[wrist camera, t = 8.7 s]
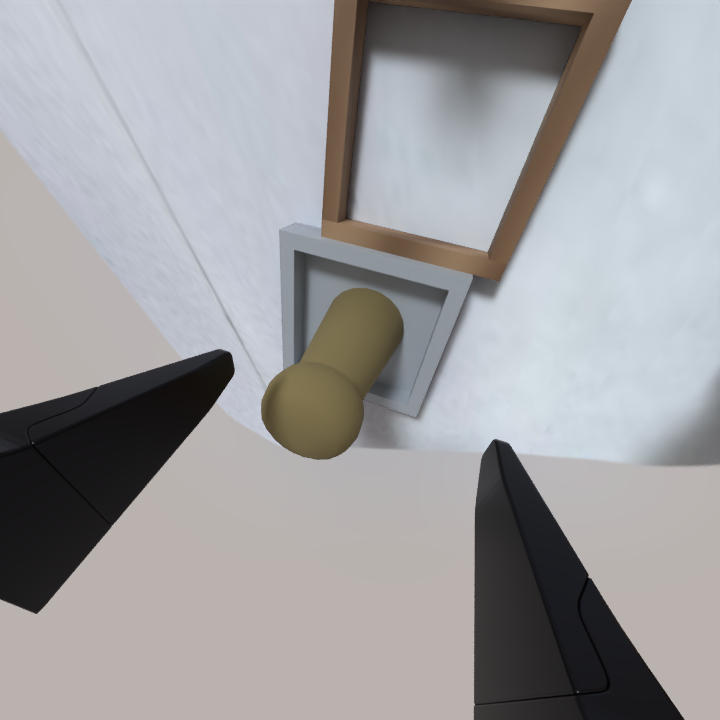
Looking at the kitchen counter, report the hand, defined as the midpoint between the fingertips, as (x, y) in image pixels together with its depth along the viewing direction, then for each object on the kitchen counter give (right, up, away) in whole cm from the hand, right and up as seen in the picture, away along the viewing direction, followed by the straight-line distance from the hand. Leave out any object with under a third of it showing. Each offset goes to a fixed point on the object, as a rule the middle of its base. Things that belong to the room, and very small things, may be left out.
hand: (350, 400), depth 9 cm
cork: (+1, +4, +13) cm, 13 cm away
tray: (+1, +4, +13) cm, 14 cm away
